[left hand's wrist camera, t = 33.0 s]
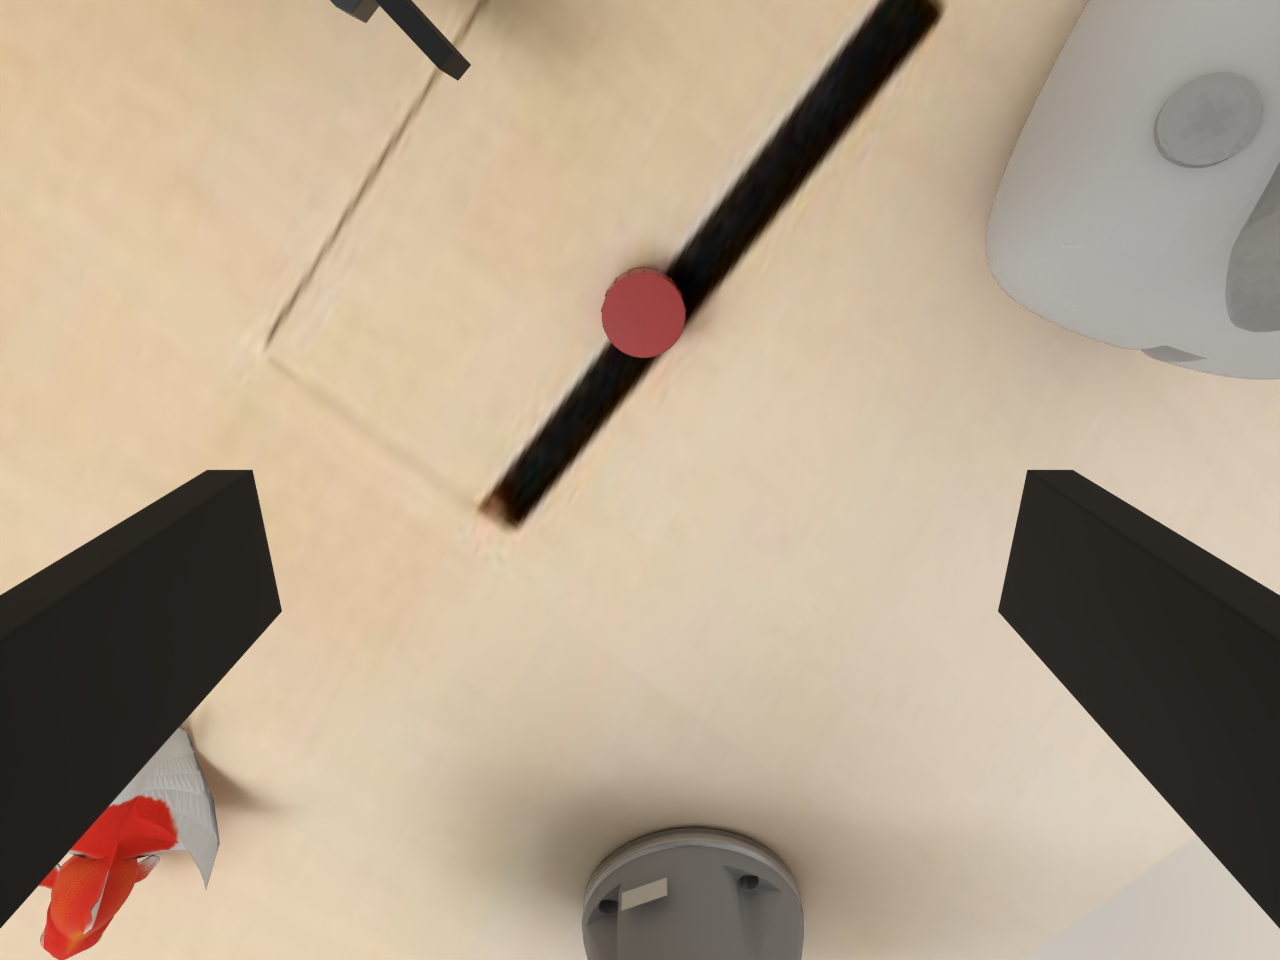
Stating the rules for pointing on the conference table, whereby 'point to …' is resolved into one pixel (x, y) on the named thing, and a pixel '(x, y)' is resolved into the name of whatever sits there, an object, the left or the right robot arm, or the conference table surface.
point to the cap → (643, 313)
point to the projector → (1154, 186)
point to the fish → (131, 846)
